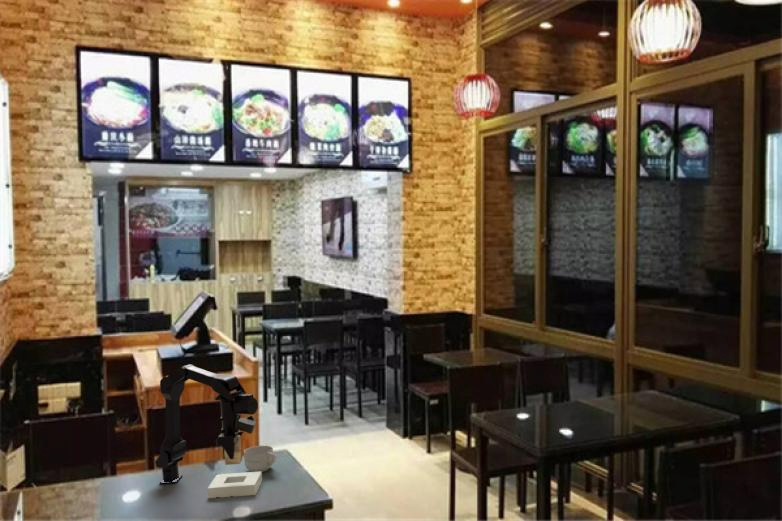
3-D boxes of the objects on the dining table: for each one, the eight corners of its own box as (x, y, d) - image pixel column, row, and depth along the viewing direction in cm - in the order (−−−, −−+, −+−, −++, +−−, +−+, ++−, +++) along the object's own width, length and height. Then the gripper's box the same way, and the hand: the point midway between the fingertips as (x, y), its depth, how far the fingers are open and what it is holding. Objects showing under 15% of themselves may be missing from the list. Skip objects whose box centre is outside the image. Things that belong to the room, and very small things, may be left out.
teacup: (239, 470, 236) (238, 450, 236) (264, 462, 243) (263, 442, 243) (259, 479, 226) (257, 458, 225) (284, 470, 233) (283, 449, 233)
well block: (217, 484, 224) (216, 474, 224) (262, 480, 224) (261, 471, 224) (208, 498, 212) (207, 488, 212) (255, 494, 212) (254, 484, 212)
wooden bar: (227, 461, 220) (225, 436, 219) (242, 460, 220) (240, 434, 219) (225, 464, 216) (223, 439, 216) (239, 463, 216) (237, 438, 216)
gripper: (247, 419, 208) (250, 465, 208) (258, 403, 226) (261, 446, 227) (213, 421, 208) (217, 467, 208) (227, 405, 226) (230, 448, 227)
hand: (233, 456), depth 218 cm, fingers closed on wooden bar, 3 cm apart
